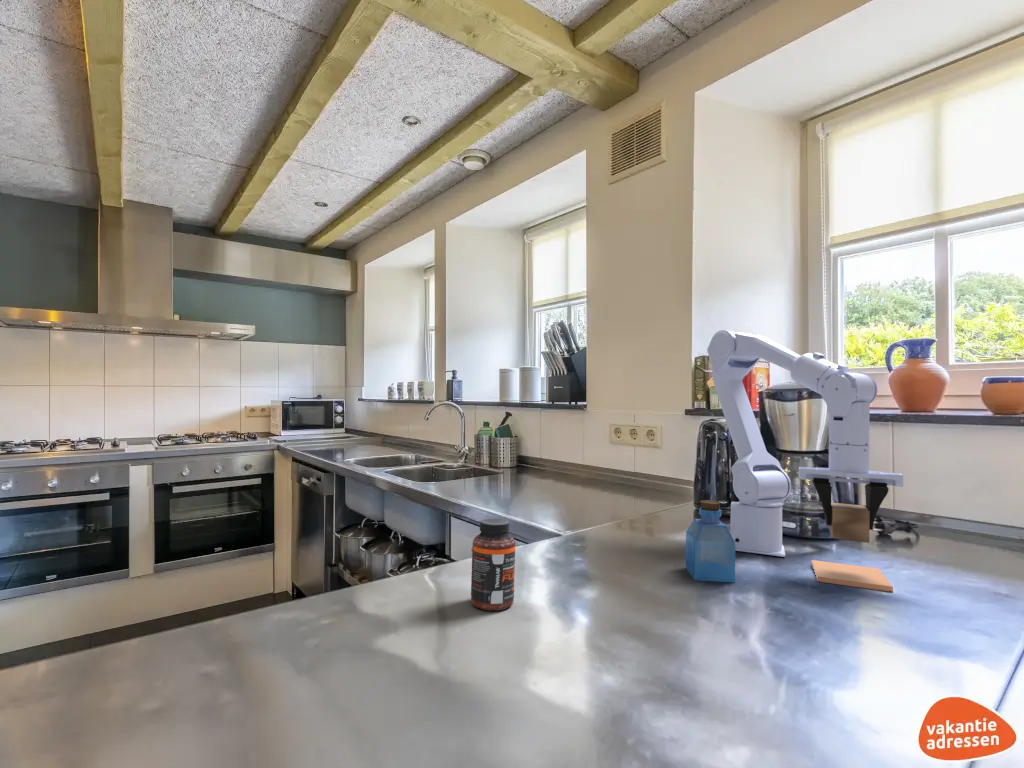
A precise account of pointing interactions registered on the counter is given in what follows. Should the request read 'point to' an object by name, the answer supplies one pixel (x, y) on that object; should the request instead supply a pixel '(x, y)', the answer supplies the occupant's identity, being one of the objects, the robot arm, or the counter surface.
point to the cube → (850, 522)
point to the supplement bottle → (493, 566)
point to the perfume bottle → (710, 546)
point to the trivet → (851, 575)
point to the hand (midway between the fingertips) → (848, 526)
